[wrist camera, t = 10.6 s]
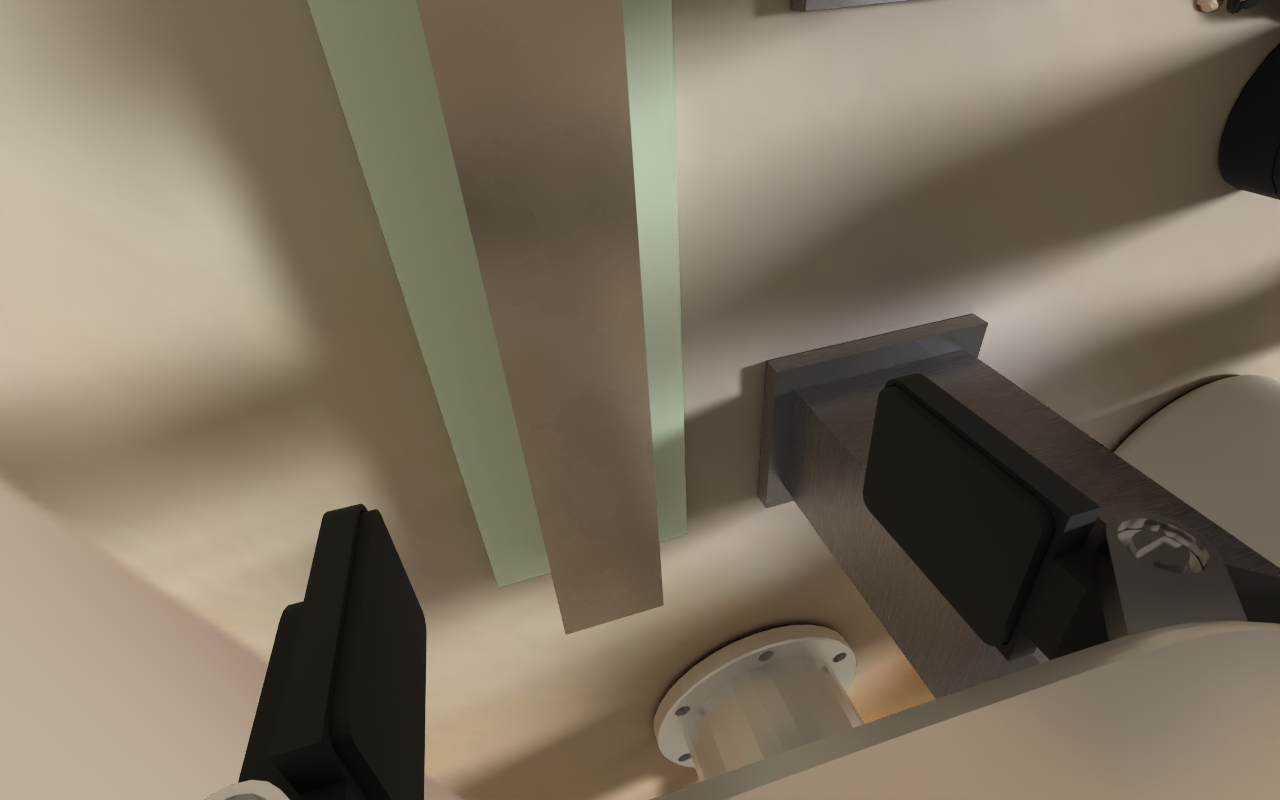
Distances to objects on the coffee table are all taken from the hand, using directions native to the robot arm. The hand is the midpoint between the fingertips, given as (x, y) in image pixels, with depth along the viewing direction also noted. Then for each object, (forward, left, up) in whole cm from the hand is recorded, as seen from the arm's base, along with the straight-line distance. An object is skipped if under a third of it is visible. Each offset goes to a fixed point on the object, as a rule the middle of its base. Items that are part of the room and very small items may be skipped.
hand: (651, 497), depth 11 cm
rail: (+1, 0, -9) cm, 9 cm away
